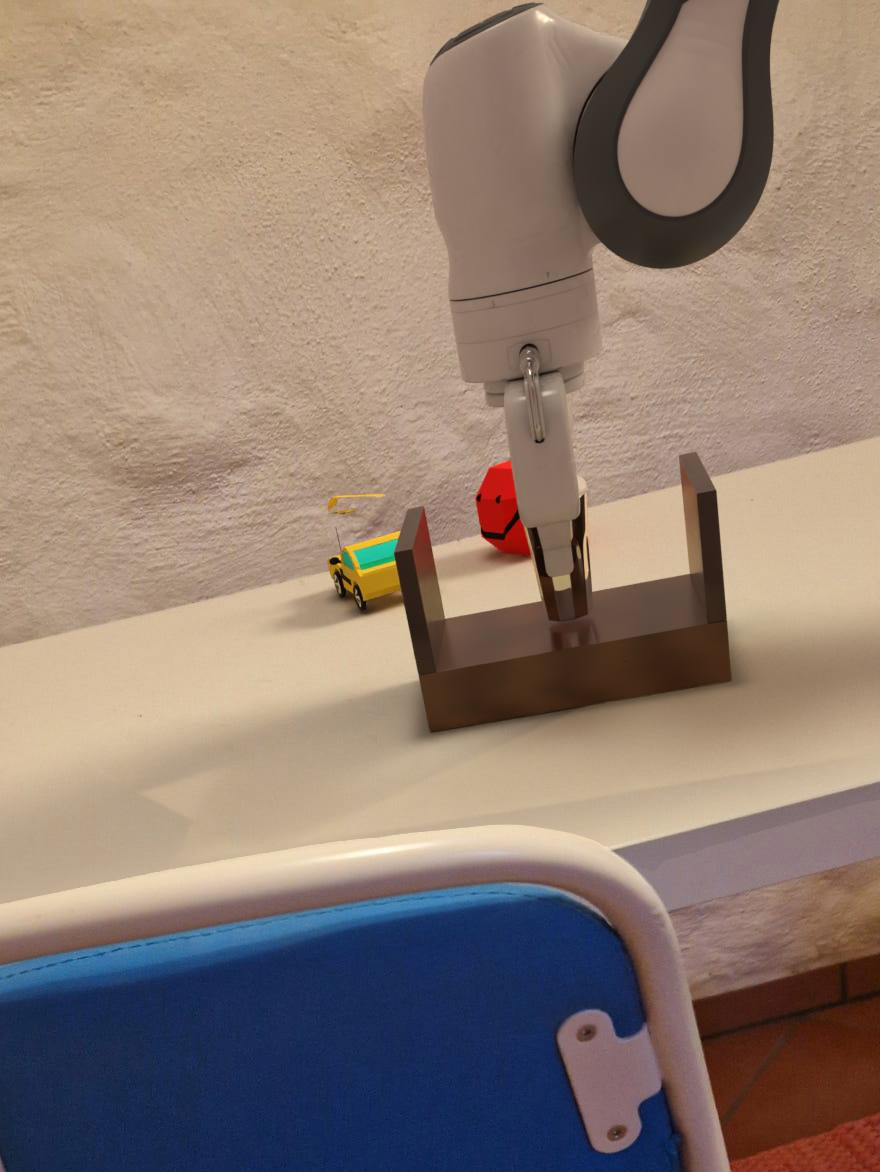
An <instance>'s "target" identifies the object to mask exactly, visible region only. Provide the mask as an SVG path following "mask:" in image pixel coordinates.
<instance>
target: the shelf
mask: <svg viewBox="0 0 880 1172" xmlns="http://www.w3.org/2000/svg"><path fill="white" fill-rule="evenodd" d="M678 462H679V472H680V473H679V474H680V482H681V494H682V495H681V496H682V503H683V515H684V527H685V535H686V536H685V539H686V547H687V549H686V550H687V558H688V570H689V573H687V574H686V573H685V574H681V575H676V576H670V577H665V578H660V579H654V580H648V581H643V582H638V583H631V584H627V585H626V584H625V585H621V586H614V587H610V588H604V589H599V590H594V591H593V590H592V596H593V609H592V610H591V611H590V612H589V613H588V614H587V615H585V616H583V617H580V618H578V619H575V620H569V621H562V622H559V621H550V620H548V618H547V617H546V616H545V613H544V609H543V604H542V600H540V601H534V602H530V603H523V604H518V605H512V606H506V607H502V608H497V609H491V610H486V611H480V612H479V611H478V612H474V613H468V614H463V615H457V616H452V617H447V618H446V616H445V610H444V606H443V605H444V604H443V600H442V595H441V588H440V585H439V584H440V583H439V578H438V572H437V567H436V563H435V558H434V557H435V556H434V552H433V551H434V550H433V545H432V541H431V536H430V530H429V526H428V520H427V514H426V509H425V505H421V506H416V507H411V508H407V510H406V512H405V516H404V519H403V522H402V526H401V528H400V530H399V531H400V535H399V538H398V541H397V544H396V547H395V550H394V557H395V562H396V567H397V572H398V577H399V582H400V587H401V590H400V591H401V595H402V601H403V607H404V611H405V616H406V620H407V625H408V631H409V636H410V641H411V645H412V650H413V655H414V656H413V657H414V660H415V666H416V671H417V675H418V681H419V685H420V691H421V695H422V700H423V704H424V708H425V709H424V710H425V715H426V720H427V725H428V730H429V732H430V733H433V732H439V731H445V730H450V729H457V728H462V727H469V726H474V725H480V724H486V723H492V722H498V721H504V720H510V719H516V718H522V717H526V716H527V717H528V716H533V715H539V714H546V713H552V712H556V711H562V710H568V709H569V710H570V709H574V708H575V709H576V708H580V707H587V706H592V705H597V704H604V703H611V702H615V701H621V700H626V699H627V700H629V699H632V698H640V697H645V696H651V695H656V694H657V695H658V694H662V693H668V692H673V691H674V692H675V691H681V690H687V689H691V688H698V687H703V686H711V685H716V684H722V683H727V682H732V680H733V679H732V678H733V675H732V664H731V652H730V651H731V650H730V641H729V627H728V617H727V615H728V614H727V603H726V591H725V590H726V589H725V579H724V566H723V565H724V564H723V554H722V553H723V552H722V541H721V528H720V527H721V526H720V515H719V505H718V503H719V502H718V491H717V488H716V487H715V485H714V483H713V481H712V479H711V477H710V475H709V473H708V471H707V470H706V467H705V465H704V464H703V461H702V460H701V458H700V456H699V454H698V452H697V451H692V452H688V453H682V454H679V455H678Z"/></svg>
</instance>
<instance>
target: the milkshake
mask: <svg viewBox="0 0 880 1172" xmlns="http://www.w3.org/2000/svg"><path fill="white" fill-rule="evenodd" d="M577 481H578V488H579V496H580V514H579V516H578V517H577V518H576V519H573V520H570V534H571V548H572V556H573V564H574V569H573V571H572V572H571V573H570V574H568V575H563V576H557V577H551V576H548V574H547V573H546V567H545V561H544V554H543V549H542V546H541V542H540V538H539V534H538V530H537V527H533V528H527V527H525V526H524V525H523V526H524V530H525V533H526V537H527V541H528V545H529V549H530V553H531V556H530V557H531V560H532V566H533V570H534V575H535V579H536V583H537V587H538V591H539V596H540V601H542V604H543V609H544V613H545V616H546V617H547V618H548V620H550V621H559V622H562V621H569V620H575V619H578V618H580V617H583V616H585V615H587V614H588V613H589V612H590V611H591V610H592V609H593V596H592V592H593V583H592V582H593V581H592V567H591V565H592V564H591V550H590V536H589V513H588V511H589V510H588V485H587V482H586V480H585V479H584V478H583V477H582V476H580V475H579V474H577Z"/></svg>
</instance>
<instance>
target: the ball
mask: <svg viewBox="0 0 880 1172" xmlns="http://www.w3.org/2000/svg"><path fill="white" fill-rule="evenodd" d="M474 500H475V506H476V511H477V512H476V513H477V517H478V523H479V526H480V535H481V538H482V539H483V540H485V541H487V542H488V543H489V544H491V546H493V548H494V547H495V548H496V549H498V551H500V552H501V553H502V554H508V555H516V556H523V557H531V553H530V549H529V545H528V541H527V537H526V533H525V530H524V526H523V524H522V522H521V519H520V515H519V511H518V505H517V499H516V492H515V486H514V479H513V472H512V465H511V459H509V460H507V461H506V460H505V461H503V462H500V463H498V464H495V465H492V466H490V467H488V470H487V471H486V473H485V476H484V478H483V480H482V482H481V484H480V487H479V489H478V491H477V493H476V495H475V497H474Z"/></svg>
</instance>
